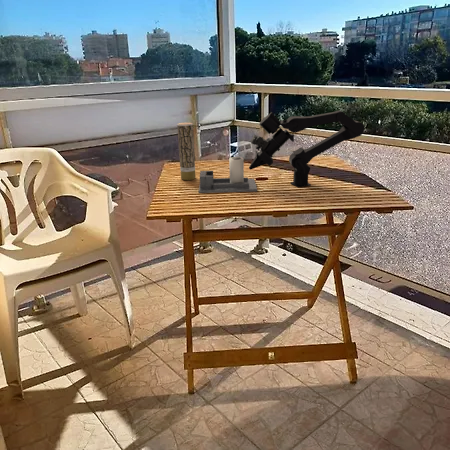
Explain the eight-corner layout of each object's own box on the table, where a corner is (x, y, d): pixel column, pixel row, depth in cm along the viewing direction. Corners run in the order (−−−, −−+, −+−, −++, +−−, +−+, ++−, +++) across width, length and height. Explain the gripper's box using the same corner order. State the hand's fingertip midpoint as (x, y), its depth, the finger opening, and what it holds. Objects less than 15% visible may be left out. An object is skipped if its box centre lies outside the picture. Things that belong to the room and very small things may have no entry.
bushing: (243, 181, 173) (243, 155, 169) (244, 185, 168) (244, 159, 163) (229, 182, 173) (229, 156, 169) (229, 186, 167) (229, 159, 163)
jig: (253, 180, 178) (253, 167, 176) (257, 191, 163) (257, 177, 161) (200, 182, 178) (199, 169, 176) (198, 193, 163) (197, 178, 161)
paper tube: (193, 181, 180) (190, 124, 171) (179, 180, 181) (175, 124, 172) (197, 177, 186) (194, 122, 177) (183, 176, 188) (179, 122, 178)
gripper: (260, 124, 170) (235, 151, 174) (265, 131, 153) (236, 160, 157) (278, 142, 173) (252, 168, 177) (284, 151, 156) (256, 179, 160)
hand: (249, 168), depth 168 cm, fingers closed
